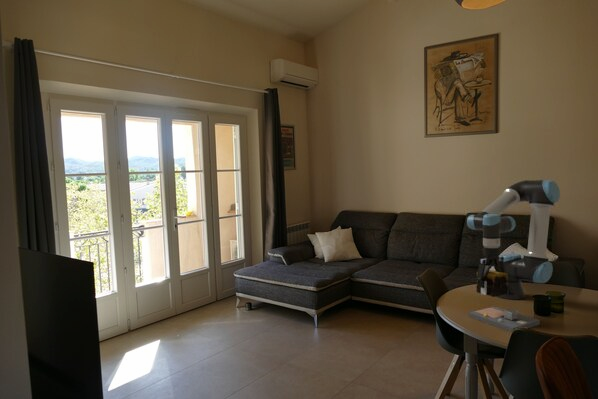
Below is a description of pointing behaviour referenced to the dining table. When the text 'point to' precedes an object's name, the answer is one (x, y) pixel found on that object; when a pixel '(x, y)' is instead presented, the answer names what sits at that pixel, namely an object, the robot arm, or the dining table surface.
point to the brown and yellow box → (495, 283)
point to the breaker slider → (510, 314)
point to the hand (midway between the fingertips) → (491, 292)
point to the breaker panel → (503, 319)
